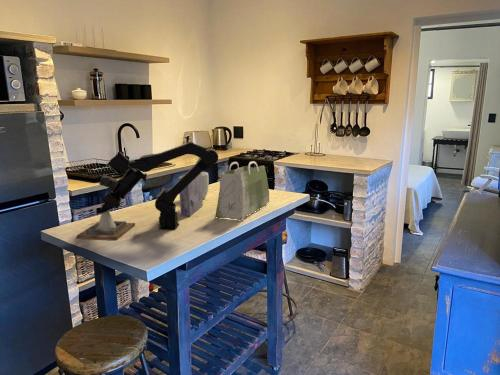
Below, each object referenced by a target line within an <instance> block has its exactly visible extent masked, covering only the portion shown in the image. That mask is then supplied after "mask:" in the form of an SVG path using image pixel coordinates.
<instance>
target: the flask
mask: <svg viewBox="0 0 500 375" xmlns="http://www.w3.org/2000/svg"><path fill="white" fill-rule="evenodd" d="M103 205H104V203H102V204H100V205H99V206H100V209H101V208H102V206H103ZM113 219H114V218H112V215H111V213H110V210H108V211H106V212H104V213H100V219H99V221H100V222H99V221H98V222H99V225H98V229H99V230H113V229H114V228H116V225H115V223H114V221H115V220H113Z"/></svg>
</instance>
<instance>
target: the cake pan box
mask: <svg viewBox="0 0 500 375" xmlns="http://www.w3.org/2000/svg"><path fill="white" fill-rule="evenodd" d="M182 176H183V175H180V176H179V177H177V181H178V180H179V179H180V178H181V177H182ZM178 196H179V204H180V205H179V206H180V216H184V217H185V216H186V217H191V216H192V215H193V214H194V213H196V212H197V211H199V209H201V207H203V206H204V204H203V202H204V200H203V199H202V184H201V173H200V174H199V175H198V176H197V177H196V178H195V179H194V180H193V181H192V182H191V183H190V184H189V185H188V186H187V187H186V188H185V189H184V190H183V191H182V192H180V193H179V194H178Z"/></svg>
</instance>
